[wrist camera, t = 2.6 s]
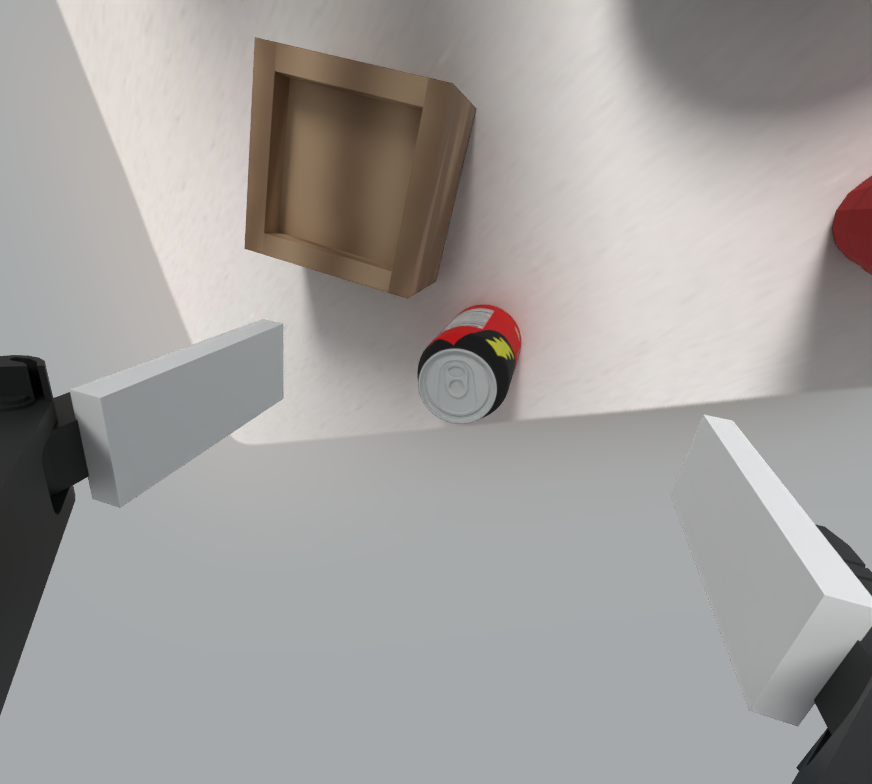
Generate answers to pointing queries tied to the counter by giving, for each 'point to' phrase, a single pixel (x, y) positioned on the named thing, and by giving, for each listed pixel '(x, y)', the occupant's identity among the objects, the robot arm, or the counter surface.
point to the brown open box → (353, 166)
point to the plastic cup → (856, 225)
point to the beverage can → (470, 365)
